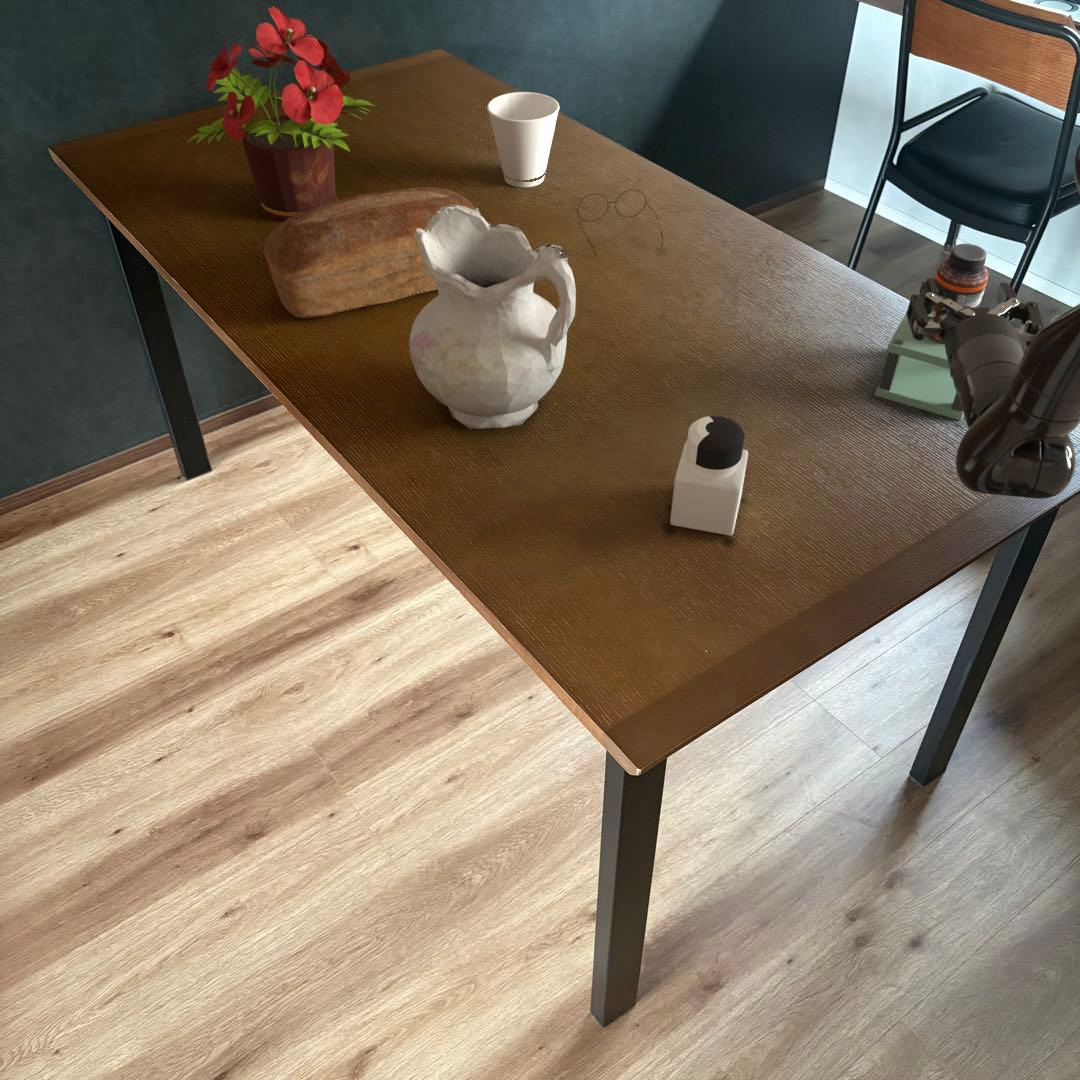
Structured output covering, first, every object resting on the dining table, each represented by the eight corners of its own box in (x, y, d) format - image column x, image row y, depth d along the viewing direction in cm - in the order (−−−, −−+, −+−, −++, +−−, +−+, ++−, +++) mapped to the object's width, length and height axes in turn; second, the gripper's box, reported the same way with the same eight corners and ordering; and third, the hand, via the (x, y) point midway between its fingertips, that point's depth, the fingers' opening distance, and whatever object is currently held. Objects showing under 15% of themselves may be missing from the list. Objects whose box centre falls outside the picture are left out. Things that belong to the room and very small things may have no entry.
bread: (492, 284, 160) (489, 198, 150) (288, 332, 150) (271, 244, 141) (462, 247, 167) (457, 163, 158) (267, 291, 158) (249, 205, 149)
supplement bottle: (911, 323, 137) (933, 242, 129) (951, 315, 138) (976, 235, 130) (937, 349, 133) (961, 267, 125) (979, 340, 134) (1006, 259, 126)
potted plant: (284, 258, 165) (246, 56, 144) (185, 201, 179) (137, 9, 158) (427, 193, 181) (411, 1, 160) (326, 145, 194) (299, -37, 173)
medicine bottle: (741, 496, 125) (755, 414, 117) (732, 537, 121) (746, 454, 112) (680, 486, 127) (689, 403, 119) (669, 526, 122) (678, 443, 114)
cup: (509, 200, 178) (507, 126, 170) (477, 172, 186) (474, 100, 177) (571, 184, 183) (573, 111, 174) (538, 157, 190) (537, 86, 181)
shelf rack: (982, 372, 143) (1000, 320, 137) (960, 421, 136) (978, 368, 130) (900, 349, 147) (914, 298, 141) (874, 395, 139) (888, 343, 134)
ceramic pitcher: (601, 389, 142) (613, 206, 127) (553, 470, 128) (558, 276, 112) (451, 358, 148) (443, 180, 132) (388, 433, 134) (371, 243, 118)
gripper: (1066, 339, 114) (1035, 262, 126) (928, 330, 116) (910, 254, 127) (1043, 397, 120) (1016, 317, 131) (912, 387, 121) (896, 310, 132)
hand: (964, 286), depth 129 cm, fingers open, 8 cm apart
